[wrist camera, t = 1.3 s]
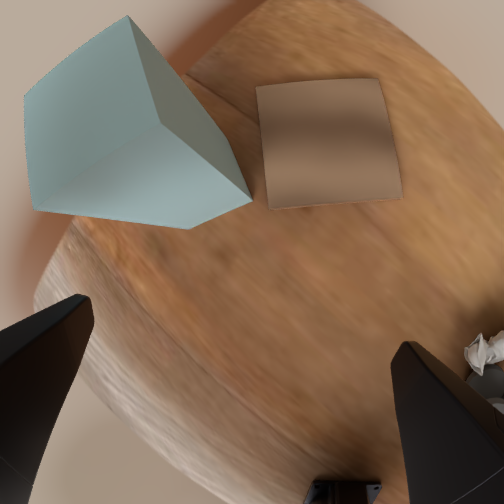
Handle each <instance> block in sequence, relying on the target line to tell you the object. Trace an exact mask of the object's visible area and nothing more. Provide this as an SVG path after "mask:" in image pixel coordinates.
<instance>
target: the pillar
mask: <svg viewBox="0 0 504 504" xmlns="http://www.w3.org/2000/svg"><path fill="white" fill-rule="evenodd" d="M24 128H25V146H26V159H27V169H28V177H29V185H30V192H31V198H32V205H33V210H38V211H47V212H55V213H64V214H72V215H80V216H88V217H96V218H104V219H112V220H120V221H128V222H136V223H144V224H151V225H159V226H166V227H174V228H181V229H191V228H193V227H195V226H197V225H199V224H202V223H204V222H206V221H208V220H211V219H213V218H215V217H217V216H220V215H222V214H224V213H226V212H229V211H231V210H233V209H236V208H238V207H240V206H242V205H245V204H247V203H249V202H252V201H253V199H252V197H251V195H250V192H249V190H248V187H247V185H246V182H245V180H244V178H243V175H242V173H241V170H240V168H239V166H238V163H237V161H236V158H235V156H234V154H233V151H232V149H231V147H230V144H229V142H228V139H227V138H226V136H225V135H224V134H223V132H222V131H221V130H220V129H219V127H218V126H217V125H216V123H215V122H214V121H213V119H212V118H211V117H210V115H209V114H208V113H207V111H206V110H205V109H204V108H203V106H202V105H201V104H200V102H199V101H198V100H197V99H196V97H195V96H194V95H193V93H192V92H191V91H190V90H189V88H188V87H187V86H186V85H185V83H184V82H183V81H182V80H181V78H180V77H179V76H178V75H177V73H176V72H175V71H174V70H173V68H172V67H171V66H170V65H169V64H168V62H167V61H166V60H165V59H164V57H163V56H162V55H161V54H160V52H159V51H158V50H157V49H156V48H155V46H154V45H153V44H152V43H151V42H150V40H149V39H148V38H147V37H146V36H145V35H144V33H143V32H142V31H141V30H140V29H139V27H138V26H137V25H136V24H135V23H134V22H133V20H132V19H131V18H130V17H129V16H128V15H127V16H125V17H124V18H122V19H121V20H119V21H117V22H116V23H114V24H112V25H111V26H109V27H108V28H106V29H105V30H103V31H102V32H100V33H99V34H98V35H96V36H95V37H93V38H92V39H90V40H89V41H88V42H86V43H85V44H84V45H82V46H81V47H79V48H78V49H77V50H76V51H74V52H73V53H72V54H70V55H69V56H68V57H67V58H65V59H64V60H63V61H62V62H61V63H59V64H58V65H57V66H56V67H55V68H53V69H52V70H51V71H50V72H49V73H48V74H46V75H45V76H44V77H43V78H42V79H41V80H40V81H39V82H38V83H37V84H36V85H34V86H33V87H32V89H30V90H29V91H28V92H27V93H26V94H25V95H24Z"/></svg>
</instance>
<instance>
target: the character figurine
mask: <svg viewBox="0 0 504 504" xmlns="http://www.w3.org/2000/svg"><path fill="white" fill-rule="evenodd" d="M466 383H467V384H468V385H470V386H471V387H472V388H473V389H474V390H476V391H477V392H478V393H479V394H480V395H482V396H483V397H484V398H485V399H486V400H487V401H489V402H490V403H491V404H492V405H493V407H496V408H497V409H498V410H499V411H500V412H501V413H503V414H504V372H503V370H502V369H501V368H500V367H499V366H497V365H494V364H487V365H484V369H483V375H482V376H481V375H480V374H478V373H477V372H475V371H473V372H472V373H471V374H470V376H469V377H468V378H467V380H466Z"/></svg>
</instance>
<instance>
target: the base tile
mask: <svg viewBox="0 0 504 504" xmlns="http://www.w3.org/2000/svg"><path fill="white" fill-rule="evenodd" d="M256 95H257V104H258V113H259V122H260V131H261V140H262V149H263V159H264V168H265V178H266V188H267V198H268V208H269V210H278V209H288V208H299V207H309V206H321V205H332V204H345V203H358V202H371V201H386V200H399V199H402V198H403V192H402V185H401V179H400V172H399V167H398V161H397V155H396V150H395V145H394V140H393V136H392V131H391V127H390V122H389V118H388V114H387V110H386V106H385V102H384V98H383V94H382V91H381V87H380V84H379V80H378V79H377V78H360V79H329V80H313V81H301V82H290V83H281V84H273V85H265V86H258V87H256Z"/></svg>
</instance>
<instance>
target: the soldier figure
mask: <svg viewBox="0 0 504 504" xmlns="http://www.w3.org/2000/svg"><path fill="white" fill-rule="evenodd" d="M464 349H465V352H464V356H465V359H466V360H467V361H468V362H469V364H470V365H471V367H472V369H473V370H474V371H475V372H477V373H478V374H480V375H481V376H482V375H483V369H484V365H487V364H494V363H495V362H499V361H502V360H504V331H500V332H499V333H498V334H497V335H496V336H495V337H490V340H489V341H488V342H487V343H486V341H485V339H483V337H482V333H480V334H479V335H478V336H477V338H476V339H475V340H474V341H473V342H472V343H471V344H470V345H469V346H468V347H465V348H464Z"/></svg>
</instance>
